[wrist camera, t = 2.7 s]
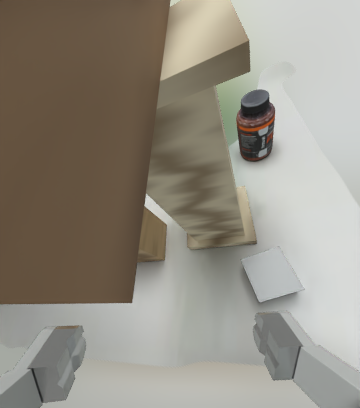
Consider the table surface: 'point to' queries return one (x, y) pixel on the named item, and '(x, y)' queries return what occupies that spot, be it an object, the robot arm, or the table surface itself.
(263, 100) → the supplement bottle
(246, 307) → the table surface
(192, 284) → the table surface
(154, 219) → the oak post
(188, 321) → the table surface
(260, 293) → the grey block
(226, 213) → the birch stand
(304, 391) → the robot arm
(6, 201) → the walnut rail
